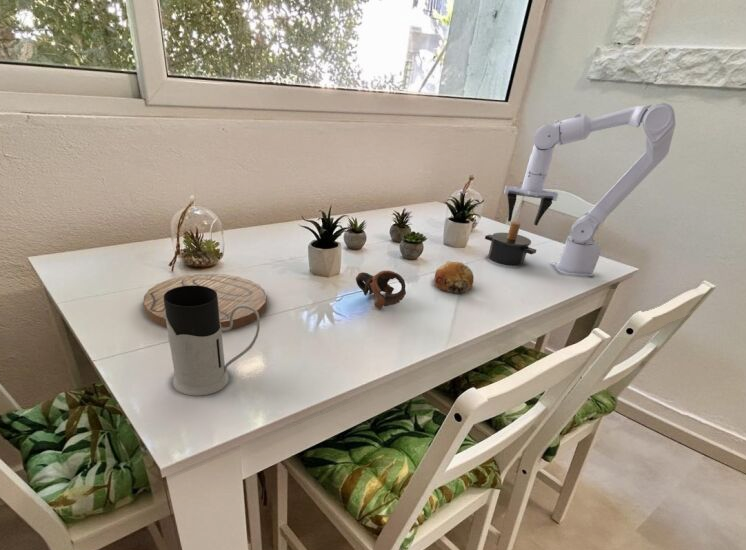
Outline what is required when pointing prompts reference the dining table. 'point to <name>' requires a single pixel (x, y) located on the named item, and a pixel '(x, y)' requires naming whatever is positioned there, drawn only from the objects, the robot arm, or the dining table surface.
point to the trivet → (228, 293)
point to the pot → (508, 253)
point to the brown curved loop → (381, 287)
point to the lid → (512, 236)
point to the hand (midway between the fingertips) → (522, 222)
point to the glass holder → (198, 339)
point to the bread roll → (454, 277)
